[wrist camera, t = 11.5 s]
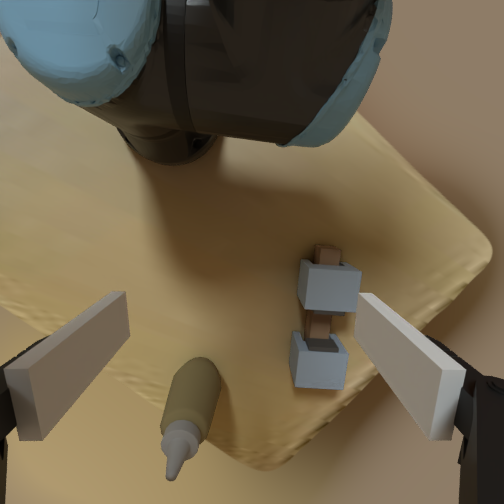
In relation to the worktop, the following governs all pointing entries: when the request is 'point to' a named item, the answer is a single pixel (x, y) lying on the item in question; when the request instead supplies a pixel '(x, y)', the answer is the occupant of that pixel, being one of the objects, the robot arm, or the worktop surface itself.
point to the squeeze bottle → (188, 412)
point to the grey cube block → (328, 287)
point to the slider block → (318, 362)
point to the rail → (314, 322)
